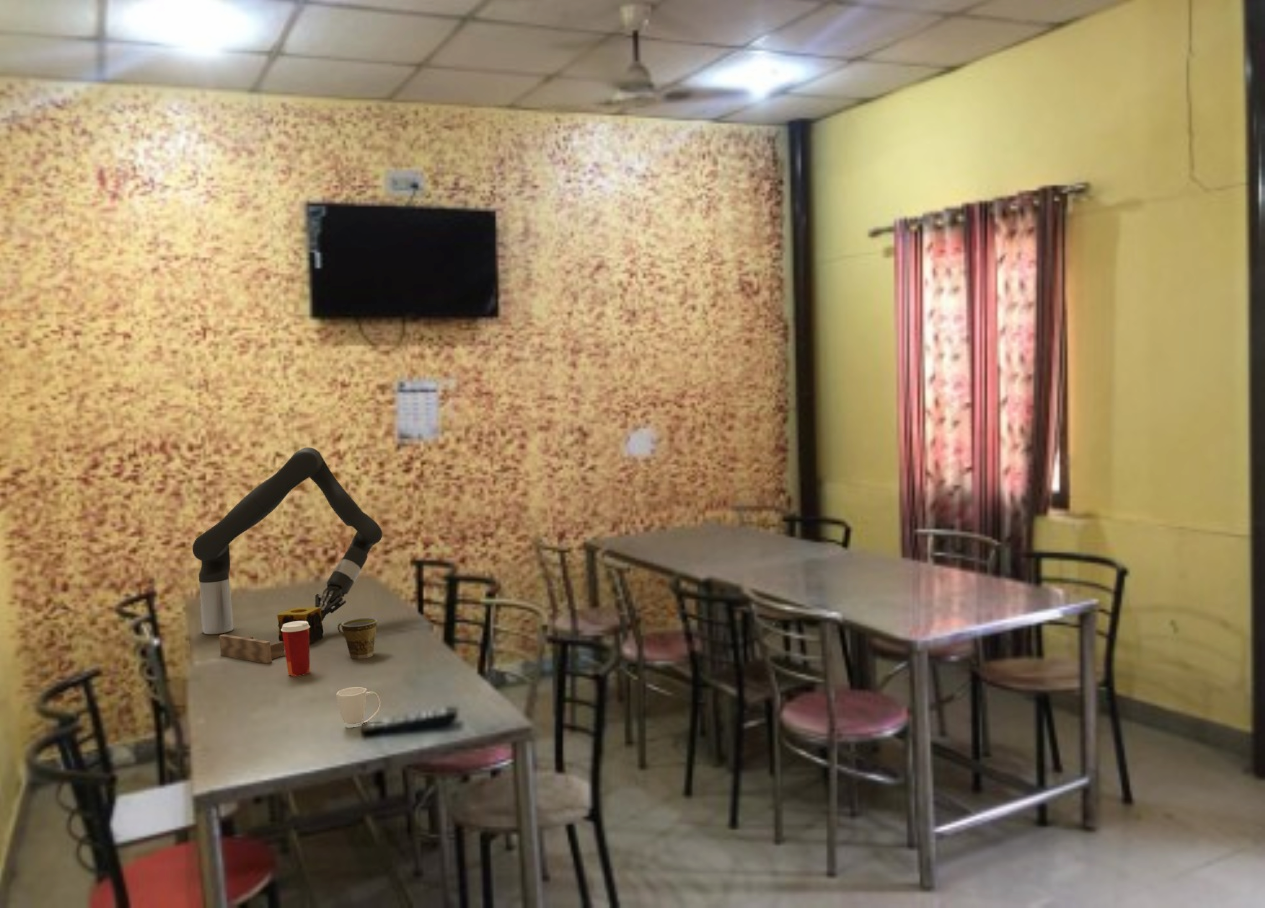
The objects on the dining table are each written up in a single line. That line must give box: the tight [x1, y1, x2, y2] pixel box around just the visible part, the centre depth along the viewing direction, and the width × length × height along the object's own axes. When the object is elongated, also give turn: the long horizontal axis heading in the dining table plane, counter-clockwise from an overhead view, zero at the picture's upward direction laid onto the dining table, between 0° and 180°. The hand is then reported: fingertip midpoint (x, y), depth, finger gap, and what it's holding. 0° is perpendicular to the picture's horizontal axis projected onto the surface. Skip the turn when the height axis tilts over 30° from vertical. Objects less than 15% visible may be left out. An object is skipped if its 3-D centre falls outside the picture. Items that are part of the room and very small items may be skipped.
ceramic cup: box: [337, 617, 378, 660], centre depth 302 cm, size 13×10×10 cm
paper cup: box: [281, 621, 311, 677], centre depth 286 cm, size 8×8×14 cm
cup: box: [335, 686, 382, 725], centre depth 240 cm, size 7×10×8 cm
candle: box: [276, 606, 324, 646], centre depth 322 cm, size 10×10×10 cm
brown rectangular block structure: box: [218, 633, 286, 664], centre depth 308 cm, size 22×8×6 cm, turn 56°
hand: (316, 622), depth 327 cm, fingers closed
